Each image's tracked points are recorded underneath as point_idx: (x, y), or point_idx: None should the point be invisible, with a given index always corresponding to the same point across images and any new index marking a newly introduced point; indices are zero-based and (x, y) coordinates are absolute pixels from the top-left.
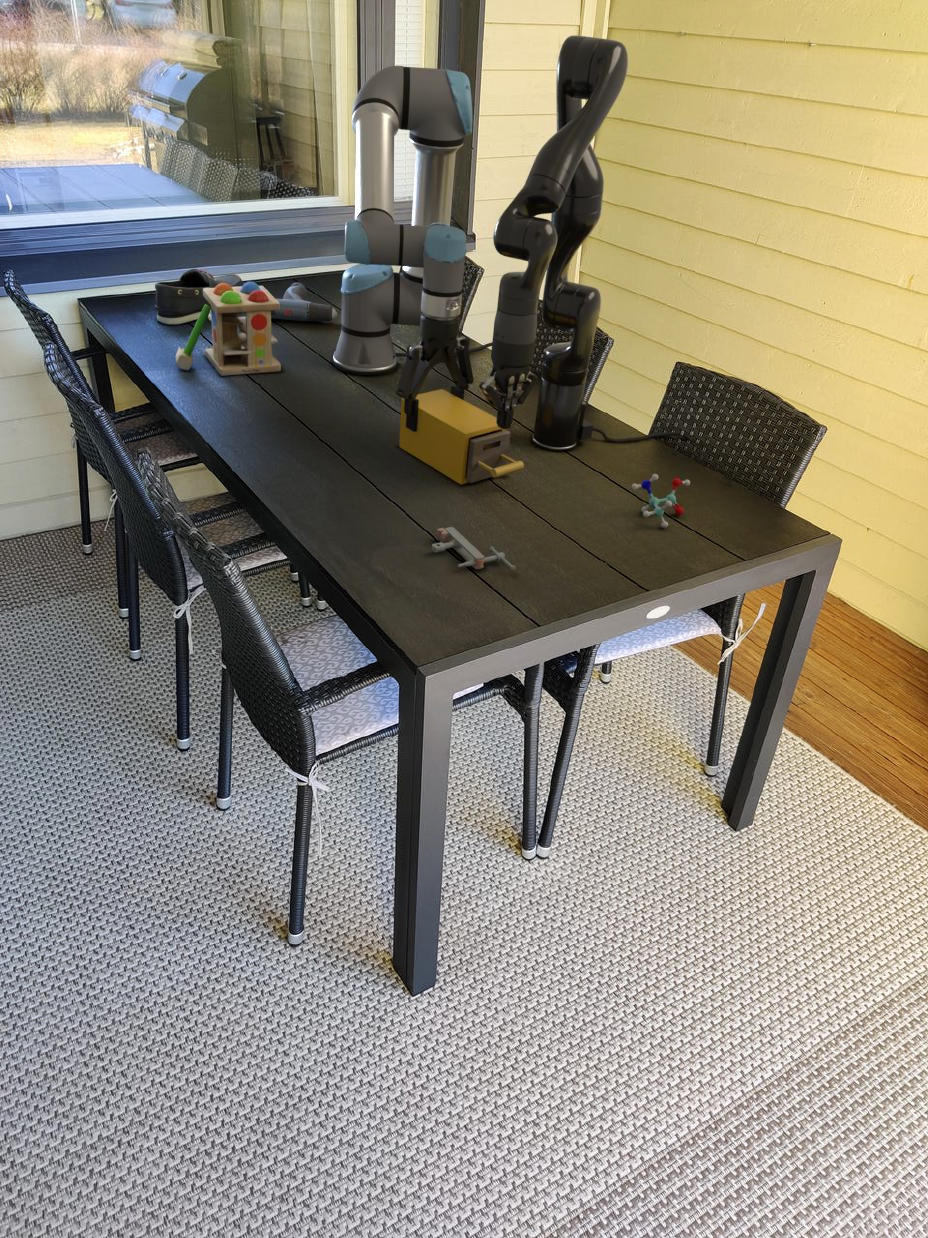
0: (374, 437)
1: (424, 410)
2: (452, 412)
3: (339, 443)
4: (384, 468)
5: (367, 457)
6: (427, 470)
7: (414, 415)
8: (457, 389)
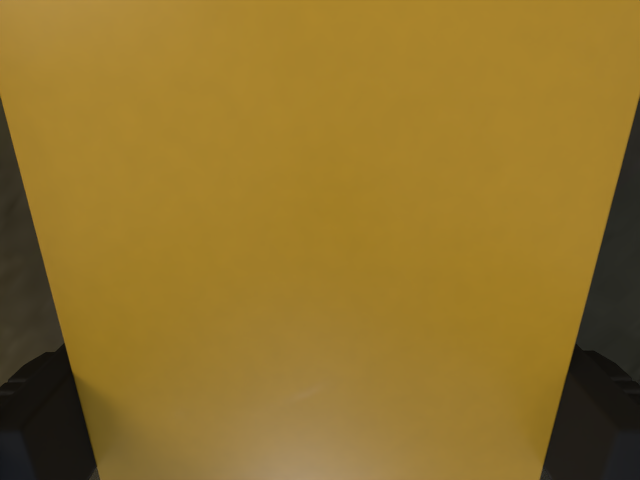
0: None
1: (580, 296)
2: (371, 107)
3: None
4: (625, 197)
5: (594, 309)
6: None
7: None
8: (31, 455)
